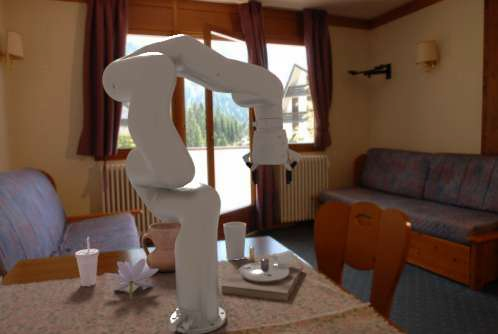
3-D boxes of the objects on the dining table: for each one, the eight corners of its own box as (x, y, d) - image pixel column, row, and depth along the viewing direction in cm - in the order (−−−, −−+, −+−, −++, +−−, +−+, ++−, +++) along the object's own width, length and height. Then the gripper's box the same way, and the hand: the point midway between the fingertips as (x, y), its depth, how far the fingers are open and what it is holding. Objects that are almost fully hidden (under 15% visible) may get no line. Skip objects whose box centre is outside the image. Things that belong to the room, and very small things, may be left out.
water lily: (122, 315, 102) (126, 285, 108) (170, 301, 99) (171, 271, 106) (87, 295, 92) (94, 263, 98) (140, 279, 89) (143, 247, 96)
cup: (246, 261, 125) (245, 226, 124) (223, 261, 125) (222, 227, 124) (247, 254, 133) (246, 221, 132) (225, 254, 133) (224, 222, 132)
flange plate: (264, 287, 97) (263, 271, 97) (231, 274, 107) (230, 259, 107) (308, 271, 109) (308, 256, 108) (274, 260, 119) (274, 246, 119)
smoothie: (91, 289, 104) (89, 240, 103) (71, 287, 105) (69, 239, 104) (104, 280, 110) (102, 234, 109) (85, 279, 111) (83, 233, 110)
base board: (287, 300, 94) (286, 293, 93) (221, 292, 99) (221, 285, 99) (302, 271, 114) (302, 265, 114) (247, 266, 120) (247, 260, 120)
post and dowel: (270, 275, 106) (270, 256, 106) (263, 276, 105) (262, 257, 105) (253, 263, 117) (253, 246, 116) (246, 264, 116) (246, 247, 115)
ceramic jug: (202, 262, 125) (200, 221, 124) (183, 277, 111) (182, 231, 110) (154, 259, 130) (153, 219, 129) (131, 273, 116) (129, 228, 115)
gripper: (237, 126, 105) (240, 185, 107) (297, 123, 100) (299, 186, 102) (245, 126, 112) (247, 182, 114) (301, 123, 107) (303, 181, 109)
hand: (272, 183), depth 108 cm, fingers open, 9 cm apart
